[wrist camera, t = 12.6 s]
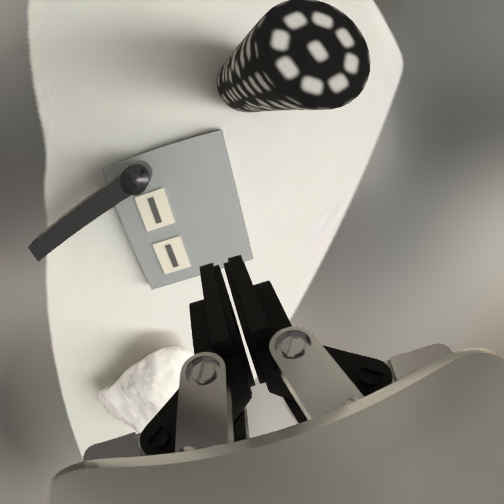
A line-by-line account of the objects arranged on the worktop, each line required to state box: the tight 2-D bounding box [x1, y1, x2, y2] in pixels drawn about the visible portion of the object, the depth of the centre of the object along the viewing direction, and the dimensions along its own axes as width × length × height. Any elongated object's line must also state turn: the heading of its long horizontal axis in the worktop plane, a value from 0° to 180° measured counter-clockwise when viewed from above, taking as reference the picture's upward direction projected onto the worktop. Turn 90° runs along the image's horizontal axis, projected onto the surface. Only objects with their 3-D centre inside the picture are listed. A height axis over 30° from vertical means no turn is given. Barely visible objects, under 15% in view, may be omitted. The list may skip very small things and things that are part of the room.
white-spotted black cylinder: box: [217, 0, 370, 112], centre depth 22 cm, size 8×8×20 cm
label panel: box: [102, 130, 253, 289], centre depth 36 cm, size 19×16×3 cm
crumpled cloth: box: [97, 346, 194, 433], centre depth 48 cm, size 24×35×9 cm
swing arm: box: [28, 161, 152, 261], centre depth 28 cm, size 19×3×4 cm, turn 114°
